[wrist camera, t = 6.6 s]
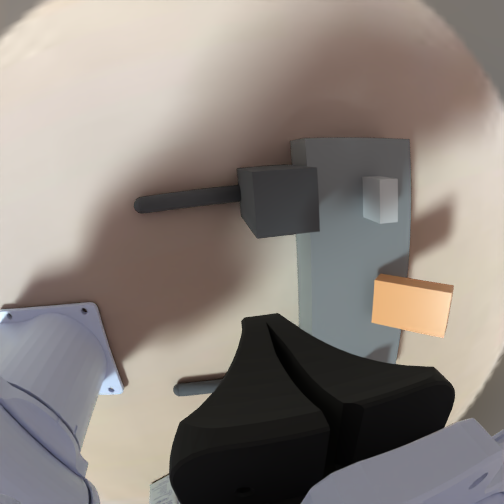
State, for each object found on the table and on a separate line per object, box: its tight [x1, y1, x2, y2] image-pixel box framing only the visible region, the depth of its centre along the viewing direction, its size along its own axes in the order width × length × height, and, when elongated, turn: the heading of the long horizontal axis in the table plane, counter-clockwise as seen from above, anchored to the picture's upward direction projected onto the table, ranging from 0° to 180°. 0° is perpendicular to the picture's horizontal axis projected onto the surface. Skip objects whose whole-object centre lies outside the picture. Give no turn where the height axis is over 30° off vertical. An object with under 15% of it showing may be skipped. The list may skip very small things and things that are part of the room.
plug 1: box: [173, 379, 222, 396], centre depth 21 cm, size 10×3×6 cm, turn 95°
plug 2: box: [134, 165, 320, 239], centre depth 17 cm, size 10×3×6 cm, turn 95°
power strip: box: [290, 138, 411, 364], centre depth 21 cm, size 7×20×5 cm, turn 5°
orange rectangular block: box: [371, 274, 454, 338], centre depth 18 cm, size 1×3×5 cm
